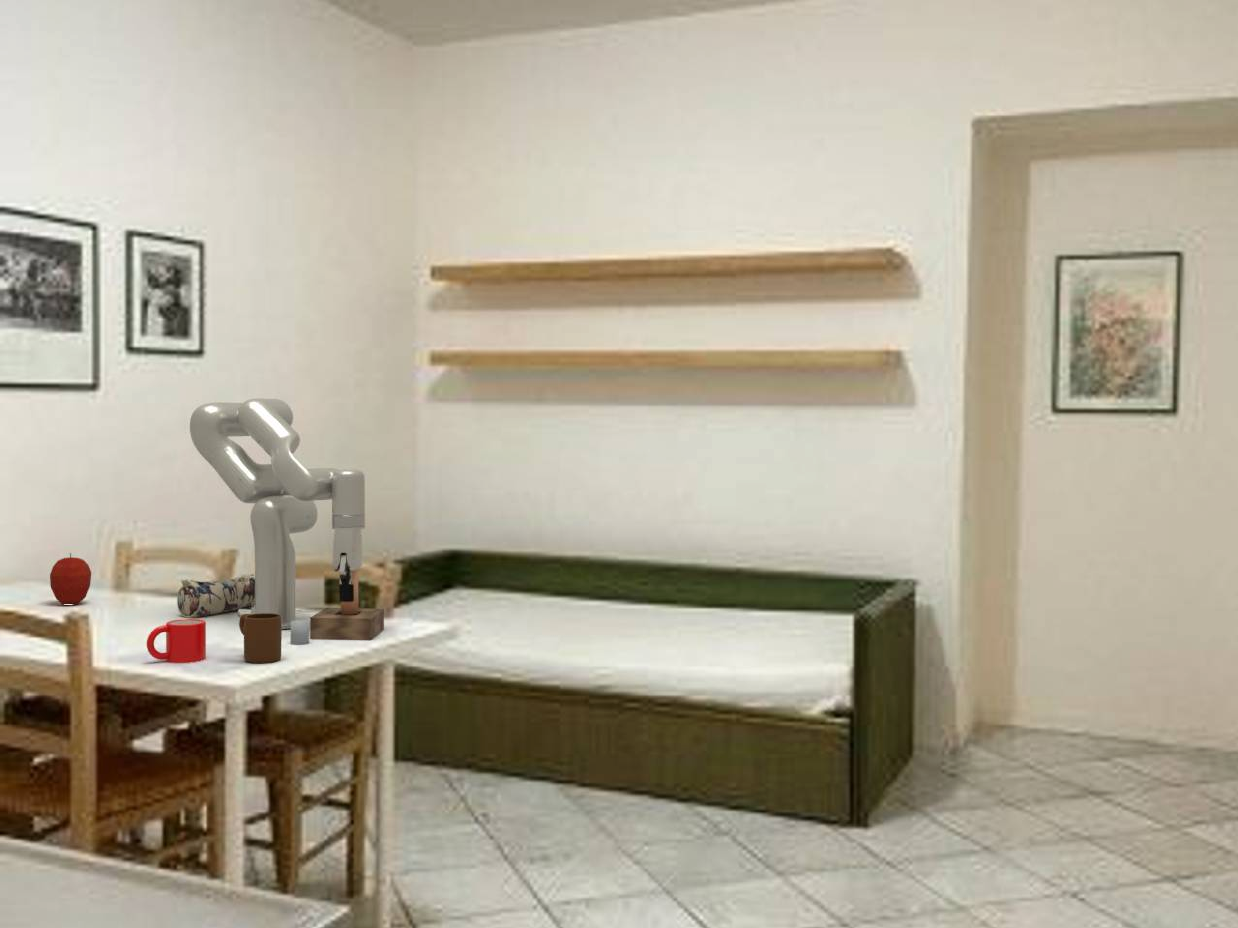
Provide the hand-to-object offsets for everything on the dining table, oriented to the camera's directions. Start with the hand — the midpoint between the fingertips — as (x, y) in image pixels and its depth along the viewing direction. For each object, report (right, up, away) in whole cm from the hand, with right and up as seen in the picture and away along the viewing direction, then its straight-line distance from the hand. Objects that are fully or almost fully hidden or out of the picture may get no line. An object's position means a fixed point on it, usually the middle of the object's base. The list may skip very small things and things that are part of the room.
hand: (349, 599), depth 289 cm
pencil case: (-40, -7, +29) cm, 50 cm away
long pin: (0, -3, 0) cm, 3 cm away
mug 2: (-13, -10, -29) cm, 33 cm away
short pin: (-9, -9, -11) cm, 17 cm away
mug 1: (-29, -9, -32) cm, 44 cm away
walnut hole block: (0, -8, +1) cm, 8 cm away
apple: (-83, -6, +38) cm, 91 cm away
